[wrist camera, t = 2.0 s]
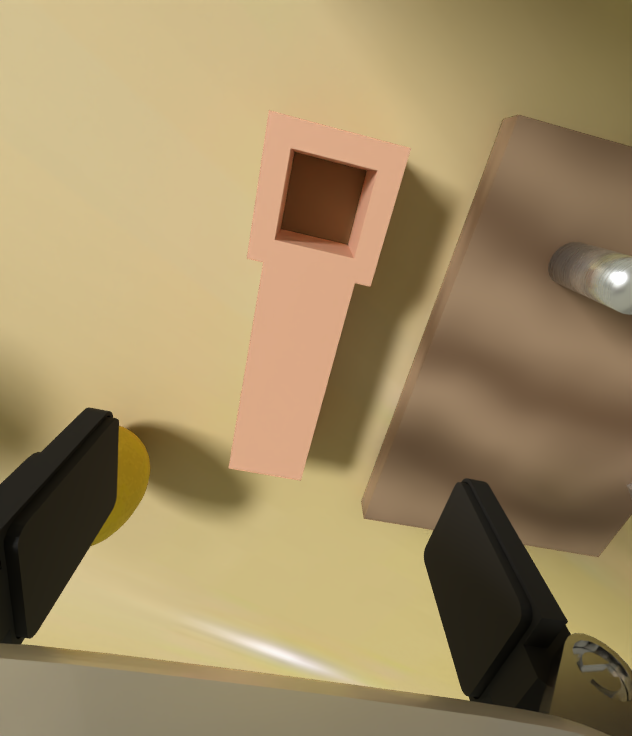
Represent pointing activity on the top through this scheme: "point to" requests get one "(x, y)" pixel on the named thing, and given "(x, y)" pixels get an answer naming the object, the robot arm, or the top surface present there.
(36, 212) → the top surface
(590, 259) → the cylinder
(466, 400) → the walnut plate
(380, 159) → the link
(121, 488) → the lemon
